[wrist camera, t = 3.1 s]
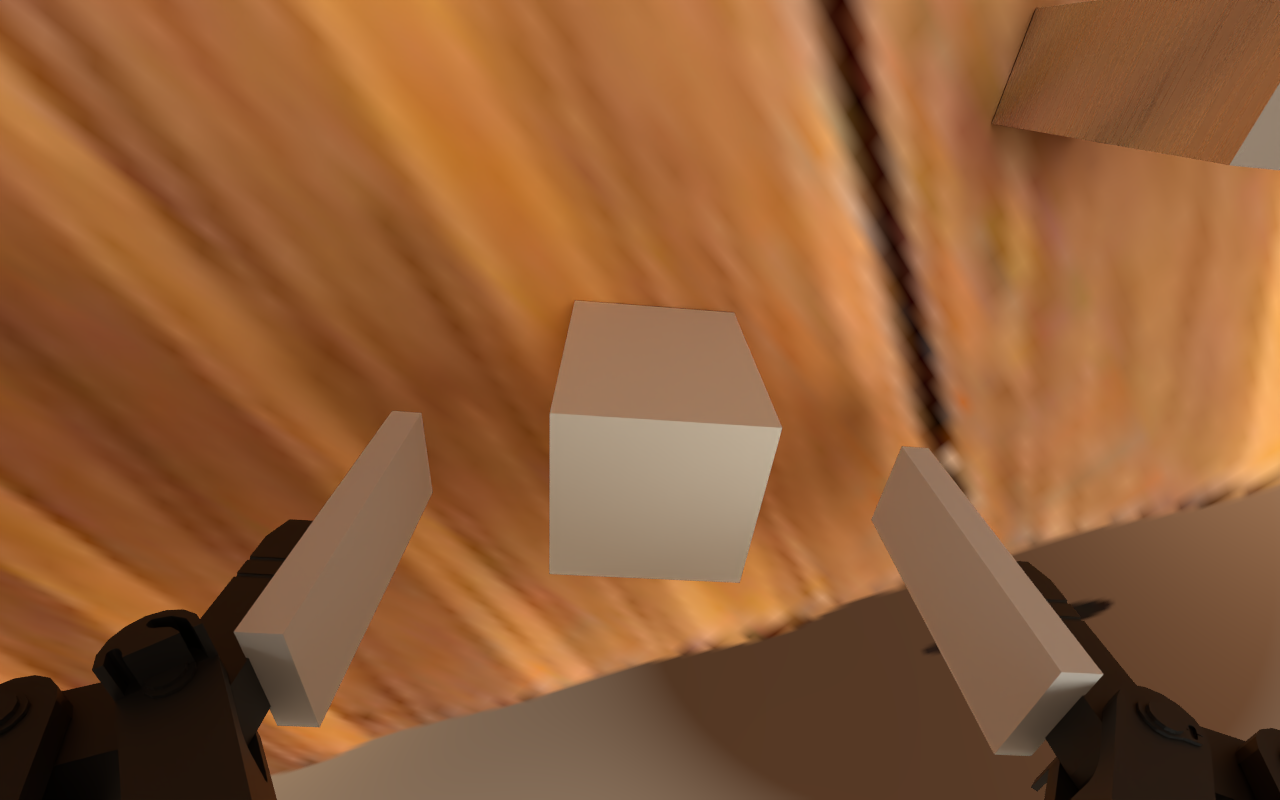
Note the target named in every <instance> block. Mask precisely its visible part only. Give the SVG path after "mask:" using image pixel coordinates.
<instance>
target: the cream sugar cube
mask: <svg viewBox="0 0 1280 800" xmlns="http://www.w3.org/2000/svg"><path fill="white" fill-rule="evenodd" d="M781 431H782V426H781V424H780V421H779V419H778V417H777V414H776V412H775V409H774V407H773V405H772V402H771V400H770V397H769V395H768V393H767V390H766V388H765V385H764V383H763V381H762V378H761V376H760V373H759V371H758V369H757V366H756V364H755V361H754V359H753V357H752V354H751V352H750V350H749V347H748V345H747V342H746V340H745V338H744V335H743V333H742V330H741V328H740V326H739V323H738V321H737V318H736V316H735V314H734V313H732V312H719V311H706V310H693V309H680V308H667V307H654V306H641V305H628V304H615V303H602V302H589V301H576V300H575V302H574V307H573V311H572V316H571V320H570V325H569V329H568V334H567V338H566V343H565V347H564V352H563V356H562V361H561V365H560V369H559V374H558V378H557V383H556V387H555V392H554V396H553V401H552V405H551V410H550V560H549V574H560V575H582V576H604V577H626V578H648V579H670V580H692V581H713V582H735V583H740V579H741V576H742V572H743V569H744V565H745V561H746V558H747V554H748V550H749V547H750V543H751V540H752V536H753V532H754V529H755V525H756V521H757V518H758V514H759V511H760V507H761V503H762V500H763V496H764V492H765V489H766V485H767V482H768V478H769V474H770V471H771V467H772V463H773V460H774V456H775V453H776V449H777V445H778V442H779V438H780V434H781Z"/></svg>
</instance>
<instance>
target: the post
mask: <svg viewBox="0 0 1280 800" xmlns="http://www.w3.org/2000/svg"><path fill="white" fill-rule="evenodd" d="M992 124H997V125H1002V126H1008V127H1014V128H1020V129H1025V130H1031V131H1037V132H1042V133H1048V134H1054V135H1060V136H1065V137H1071V138H1077V139H1082V140H1088V141H1094V142H1100V143H1105V144H1111V145H1117V146H1122V147H1128V148H1134V149H1140V150H1145V151H1151V152H1157V153H1162V154H1168V155H1174V156H1180V157H1185V158H1191V159H1197V160H1202V161H1208V162H1214V163H1220V164H1225V165H1232V166H1242V167H1252V168H1263V169H1273V170H1280V0H1097V1H1089V2H1081V3H1073V4H1065V5H1057V6H1050V7H1042V8H1036V10H1035V13H1034V15H1033V18H1032V21H1031V23H1030V26H1029V28H1028V31H1027V34H1026V36H1025V39H1024V41H1023V44H1022V46H1021V49H1020V52H1019V54H1018V57H1017V59H1016V62H1015V65H1014V67H1013V70H1012V72H1011V75H1010V78H1009V80H1008V83H1007V85H1006V88H1005V91H1004V93H1003V96H1002V98H1001V101H1000V104H999V106H998V109H997V111H996V114H995V117H994V119H993V122H992Z"/></svg>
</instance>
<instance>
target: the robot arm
mask: <svg viewBox="0 0 1280 800" xmlns="http://www.w3.org/2000/svg"><path fill="white" fill-rule="evenodd" d="M432 493H433V491H432V484H431V477H430V470H429V463H428V455H427V448H426V441H425V434H424V427H423V420H422V413H417V412H402V411H392V412H391V413H390V414H389V416H388V417H387V419H386V420H385V421H384V423H383V424H382V426H381V427H380V428H379V430H378V431H377V433H376V434H375V435H374V437H373V438H372V440H371V441H370V442H369V444H368V445H367V447H366V448H365V449H364V451H363V452H362V453H361V455H360V456H359V458H358V459H357V460H356V462H355V463H354V465H353V466H352V467H351V469H350V470H349V472H348V473H347V474H346V476H345V477H344V479H343V480H342V481H341V483H340V484H339V486H338V487H337V488H336V490H335V491H334V493H333V494H332V495H331V497H330V498H329V500H328V501H327V502H326V504H325V505H324V507H323V508H322V509H321V511H320V512H319V514H318V515H317V516H316V518H315V519H314V521H308V520H291V519H290V520H288V521H287V522H285V523H284V524H282V525H281V526H280V527H278V528H277V529H275V530H274V531H273V532H271V533H270V534H268V535H267V536H266V537H265V538H264V539H263V541H262V542H261V543H260V545H259V546H258V547H257V548H256V550H255V551H254V552H253V553H252V555H251V556H250V560H247V561H246V562H245V563H244V565H243V566H242V567H241V568H240V570H239V571H238V572H237V576H236V577H233V579H232V580H231V581H230V582H229V584H228V585H227V586H226V587H225V589H224V590H223V591H222V592H221V594H220V595H219V596H218V597H217V599H216V600H215V601H214V602H213V604H212V605H211V606H210V607H209V609H208V610H207V611H206V613H205V614H204V615H203V616H202V618H201V619H199V617H198V616H197V614H195V613H192V612H189V611H186V610H165V611H162V612H158V613H155V614H152V615H148V616H145V617H143V618H141V619H139V620H137V621H135V622H133V623H132V624H130V625H128V626H126V627H124V628H123V629H122V630H121V631H119V632H118V633H117V634H115V635H114V636H113V637H112V638H110V639H109V640H108V641H107V642H106V644H105V645H104V646H103V647H102V649H101V650H100V651H99V652H98V654H97V655H96V658H95V661H94V665H93V668H92V671H93V672H94V673H95V675H96V676H97V678H98V679H99V680H100V682H101V683H97V684H92V685H88V686H84V687H79V688H75V689H70V690H66V691H61V690H60V689H59V687H58V686H57V685H56V684H55V683H54V682H53V681H52V679H51V678H48V677H42V676H37V675H34V676H28V677H21V678H15V679H12V680H10V681H7V682H4V683H2V684H0V800H277V799H276V795H275V791H274V787H273V783H272V779H271V776H270V772H269V768H268V764H267V760H266V757H265V753H264V749H263V745H262V741H261V738H260V736H259V734H258V732H257V730H258V728H259V726H260V724H261V723H262V721H263V719H264V717H265V716H266V714H267V712H268V710H269V709H270V711H271V713H272V715H273V717H274V719H275V721H276V723H277V726H302V727H320V725H321V723H322V721H323V719H324V717H325V715H326V713H327V711H328V709H329V707H330V705H331V702H332V700H333V698H334V696H335V694H336V692H337V690H338V688H339V686H340V684H341V682H342V680H343V678H344V675H345V673H346V671H347V669H348V667H349V665H350V663H351V661H352V659H353V657H354V655H355V653H356V651H357V648H358V646H359V644H360V642H361V640H362V638H363V636H364V634H365V632H366V630H367V628H368V626H369V624H370V621H371V619H372V617H373V615H374V613H375V611H376V609H377V607H378V605H379V603H380V601H381V599H382V597H383V594H384V592H385V590H386V588H387V586H388V584H389V582H390V580H391V578H392V576H393V574H394V572H395V570H396V567H397V565H398V563H399V561H400V559H401V557H402V555H403V553H404V551H405V549H406V547H407V545H408V543H409V540H410V538H411V536H412V534H413V532H414V530H415V528H416V526H417V524H418V522H419V520H420V518H421V516H422V513H423V511H424V509H425V507H426V505H427V503H428V501H429V499H430V497H431V495H432ZM871 520H872V522H873V524H874V526H875V528H876V530H877V532H878V534H879V535H880V537H881V539H882V541H883V543H884V545H885V547H886V549H887V551H888V553H889V554H890V556H891V558H892V560H893V562H894V564H895V566H896V568H897V570H898V572H899V574H900V575H901V577H902V579H903V581H904V583H905V585H906V587H907V589H908V591H909V593H910V595H911V596H912V598H913V600H914V602H915V604H916V606H917V608H918V610H919V611H920V613H921V616H922V617H923V619H924V621H925V623H926V625H927V627H928V629H929V631H930V633H931V635H932V636H933V638H934V640H935V642H936V644H937V646H938V648H939V650H940V652H941V654H942V656H943V658H944V659H945V661H946V663H947V665H948V667H949V669H950V671H951V673H952V675H953V677H954V679H955V680H956V682H957V684H958V686H959V688H960V690H961V692H962V694H963V696H964V697H965V699H966V701H967V703H968V705H969V707H970V709H971V711H972V713H973V715H974V717H975V718H976V720H977V722H978V724H979V726H980V728H981V730H982V732H983V734H984V736H985V738H986V739H987V741H988V743H989V745H990V747H991V749H992V751H993V753H994V754H998V755H1021V756H1022V755H1023V756H1031V755H1032V754H1033V753H1034V752H1035V751H1036V750H1037V749H1038V748H1039V746H1040V745H1041V744H1042V743H1043V742H1044V741H1045V740H1047V741H1048V743H1049V745H1050V746H1051V748H1052V750H1053V751H1054V753H1055V755H1056V756H1057V757H1056V758H1055V759H1054V760H1053V761H1052V762H1051V763H1050V764H1049V765H1048V766H1047V768H1046V769H1045V770H1044V771H1043V772H1042V773H1041V774H1040V775H1039V776H1038V777H1037V778H1036V779H1035V781H1034V783H1033V785H1032V787H1031V788H1033V789H1035V790H1036V791H1038V790H1039V789H1040V788H1041V787H1042V786H1043V785H1044V784H1046V783H1047V785H1046V792H1045V799H1044V800H1280V730H1277V729H1273V728H1270V729H1261V730H1259V731H1258V732H1257V733H1255V734H1254V735H1253V736H1252V737H1251V738H1249V739H1248V740H1247V741H1243V740H1240V739H1237V738H1234V737H1231V736H1228V735H1225V734H1222V733H1219V732H1215V731H1212V730H1210V729H1206V728H1203V727H1200V726H1199V725H1198V723H1197V722H1196V721H1195V719H1194V718H1193V717H1191V716H1190V715H1189V714H1188V713H1187V712H1186V711H1185V710H1184V709H1182V708H1181V707H1180V706H1179V705H1178V704H1176V703H1175V702H1173V701H1172V700H1170V699H1168V698H1167V697H1165V696H1164V695H1162V694H1160V693H1158V692H1155V691H1153V690H1151V689H1148V688H1146V687H1141V686H1137V685H1136V684H1135V683H1134V682H1133V681H1132V679H1131V678H1130V677H1129V676H1128V675H1127V674H1126V672H1125V671H1124V670H1123V668H1122V667H1121V666H1120V665H1119V664H1118V662H1117V661H1116V660H1115V659H1114V658H1113V656H1112V655H1111V654H1110V652H1109V651H1108V650H1107V649H1106V647H1105V646H1104V645H1103V644H1102V643H1101V641H1100V640H1099V639H1098V638H1097V636H1096V635H1095V634H1094V633H1093V632H1092V630H1091V629H1090V628H1089V627H1088V626H1087V624H1086V623H1085V622H1084V621H1081V620H1080V616H1079V614H1078V613H1077V612H1076V611H1075V609H1074V608H1073V607H1072V606H1071V604H1067V600H1066V598H1065V597H1064V596H1063V595H1062V593H1061V592H1060V591H1059V590H1058V589H1057V587H1056V586H1055V585H1054V584H1053V582H1052V581H1051V580H1050V579H1048V578H1047V577H1046V576H1045V575H1044V574H1042V573H1041V572H1040V571H1039V570H1037V569H1036V568H1035V567H1034V566H1032V565H1031V564H1030V563H1029V562H1021V561H1015V559H1014V558H1013V557H1012V555H1011V554H1010V553H1009V552H1008V550H1007V549H1006V548H1005V546H1004V545H1003V544H1002V543H1001V541H1000V540H999V539H998V537H997V536H996V535H995V533H994V532H993V531H992V530H991V528H990V527H989V526H988V524H987V523H986V522H985V521H984V519H983V518H982V517H981V515H980V514H979V513H978V512H977V510H976V509H975V508H974V506H973V505H972V504H971V502H970V501H969V500H968V499H967V497H966V496H965V495H964V493H963V492H962V491H961V490H960V488H959V487H958V486H957V484H956V483H955V482H954V481H953V479H952V478H951V477H950V475H949V474H948V473H947V472H946V470H945V469H944V468H943V466H942V465H941V464H940V462H939V461H938V460H937V459H936V457H935V456H934V455H933V453H932V452H931V451H930V450H929V448H918V447H903V446H902V447H901V449H900V452H899V454H898V457H897V459H896V462H895V464H894V466H893V469H892V471H891V474H890V476H889V478H888V481H887V483H886V486H885V488H884V490H883V493H882V495H881V498H880V500H879V502H878V505H877V507H876V510H875V512H874V514H873V517H872V519H871Z"/></svg>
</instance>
